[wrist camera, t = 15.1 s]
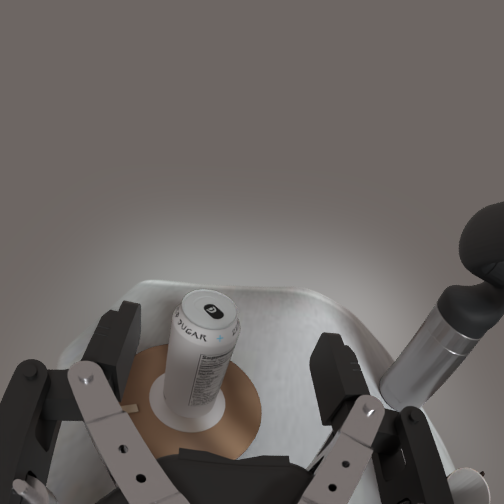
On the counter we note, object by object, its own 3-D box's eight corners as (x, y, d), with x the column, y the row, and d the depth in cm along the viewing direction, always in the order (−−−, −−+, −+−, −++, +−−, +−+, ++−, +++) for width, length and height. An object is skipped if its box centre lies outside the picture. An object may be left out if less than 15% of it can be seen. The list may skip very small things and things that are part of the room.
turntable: (223, 342, 45) (225, 334, 44) (283, 445, 32) (288, 439, 31) (100, 358, 36) (99, 350, 35) (136, 487, 23) (135, 483, 22)
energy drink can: (191, 372, 37) (214, 277, 29) (224, 406, 34) (259, 316, 26) (152, 392, 32) (160, 296, 25) (184, 430, 29) (205, 344, 22)
